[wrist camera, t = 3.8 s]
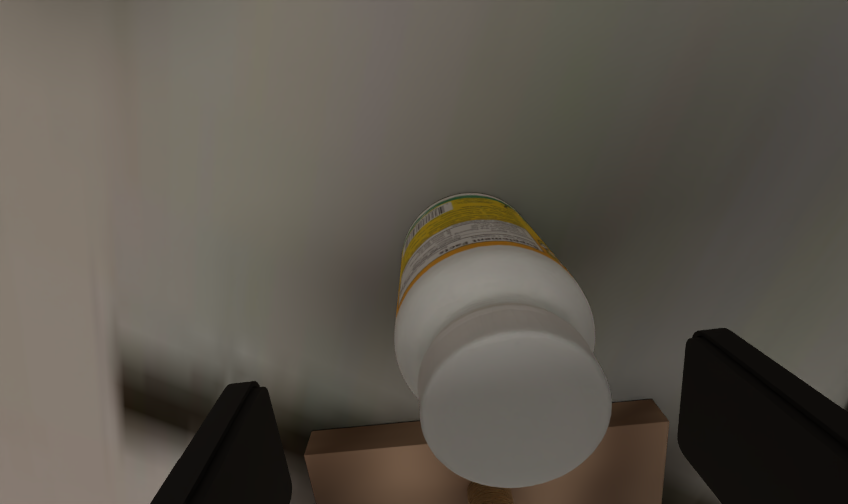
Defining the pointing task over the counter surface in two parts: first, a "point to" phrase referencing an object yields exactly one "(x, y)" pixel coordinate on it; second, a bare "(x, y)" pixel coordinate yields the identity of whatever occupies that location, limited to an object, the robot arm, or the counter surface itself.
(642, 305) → the counter surface
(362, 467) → the brass balance
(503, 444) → the supplement bottle
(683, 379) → the robot arm
